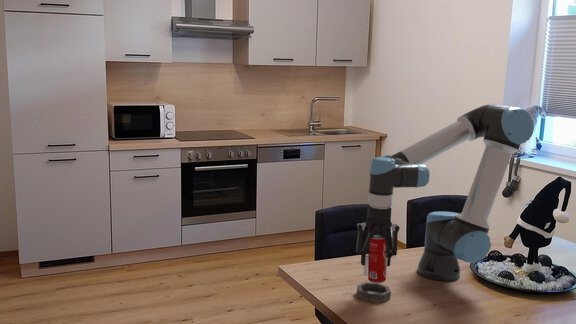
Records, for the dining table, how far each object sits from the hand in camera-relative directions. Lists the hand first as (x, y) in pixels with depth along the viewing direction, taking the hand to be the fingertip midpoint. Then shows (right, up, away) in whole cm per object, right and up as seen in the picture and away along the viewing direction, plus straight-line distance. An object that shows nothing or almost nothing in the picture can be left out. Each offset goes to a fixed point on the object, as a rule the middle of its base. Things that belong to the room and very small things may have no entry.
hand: (374, 274), depth 183 cm
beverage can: (0, -2, 0) cm, 2 cm away
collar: (0, -7, +1) cm, 7 cm away
